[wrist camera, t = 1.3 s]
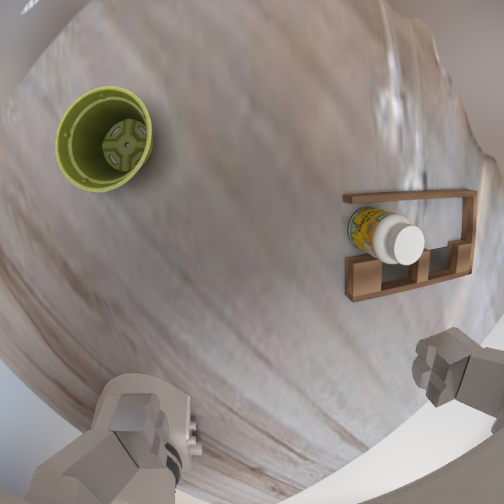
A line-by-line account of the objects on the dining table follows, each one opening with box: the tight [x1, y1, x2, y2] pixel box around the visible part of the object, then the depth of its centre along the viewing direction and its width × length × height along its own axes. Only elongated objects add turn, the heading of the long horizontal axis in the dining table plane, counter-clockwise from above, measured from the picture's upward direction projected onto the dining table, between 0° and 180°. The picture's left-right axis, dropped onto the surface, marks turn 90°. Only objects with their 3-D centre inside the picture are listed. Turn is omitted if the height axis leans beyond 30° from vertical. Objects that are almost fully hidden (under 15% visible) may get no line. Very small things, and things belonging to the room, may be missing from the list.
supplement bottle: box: [348, 207, 424, 265], centre depth 31 cm, size 5×5×10 cm
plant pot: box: [55, 86, 153, 192], centre depth 25 cm, size 9×9×9 cm
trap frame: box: [343, 189, 477, 302], centre depth 35 cm, size 13×22×2 cm, turn 96°
